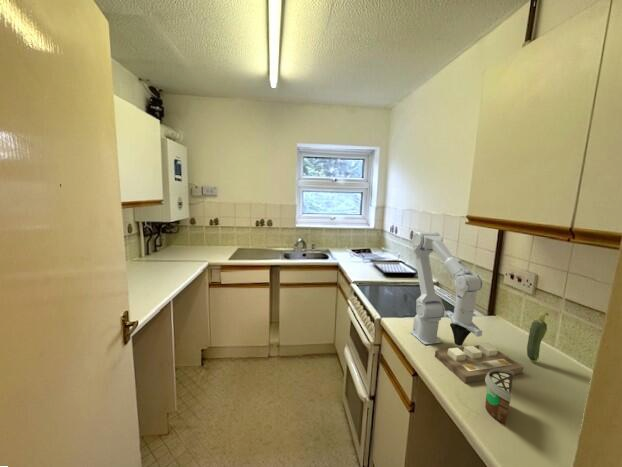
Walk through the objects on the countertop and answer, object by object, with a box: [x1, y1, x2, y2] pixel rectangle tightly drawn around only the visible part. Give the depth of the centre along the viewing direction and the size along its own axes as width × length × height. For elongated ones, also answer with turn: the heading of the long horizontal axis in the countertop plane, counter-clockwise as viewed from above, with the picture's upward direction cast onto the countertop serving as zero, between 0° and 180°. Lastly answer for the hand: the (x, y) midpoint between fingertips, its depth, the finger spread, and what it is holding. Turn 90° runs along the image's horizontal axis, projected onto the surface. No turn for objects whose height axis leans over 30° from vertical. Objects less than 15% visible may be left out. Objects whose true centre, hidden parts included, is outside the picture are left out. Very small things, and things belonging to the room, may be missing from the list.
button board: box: [434, 344, 525, 384], centre depth 96 cm, size 14×24×3 cm, turn 105°
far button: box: [478, 343, 499, 357], centre depth 100 cm, size 4×4×2 cm
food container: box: [484, 369, 515, 426], centre depth 76 cm, size 12×6×10 cm, turn 141°
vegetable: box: [526, 311, 549, 364], centre depth 98 cm, size 4×4×20 cm
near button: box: [447, 347, 466, 361], centre depth 96 cm, size 4×4×2 cm
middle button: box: [463, 345, 482, 359], centre depth 98 cm, size 4×4×2 cm
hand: (458, 344), depth 95 cm, fingers closed
